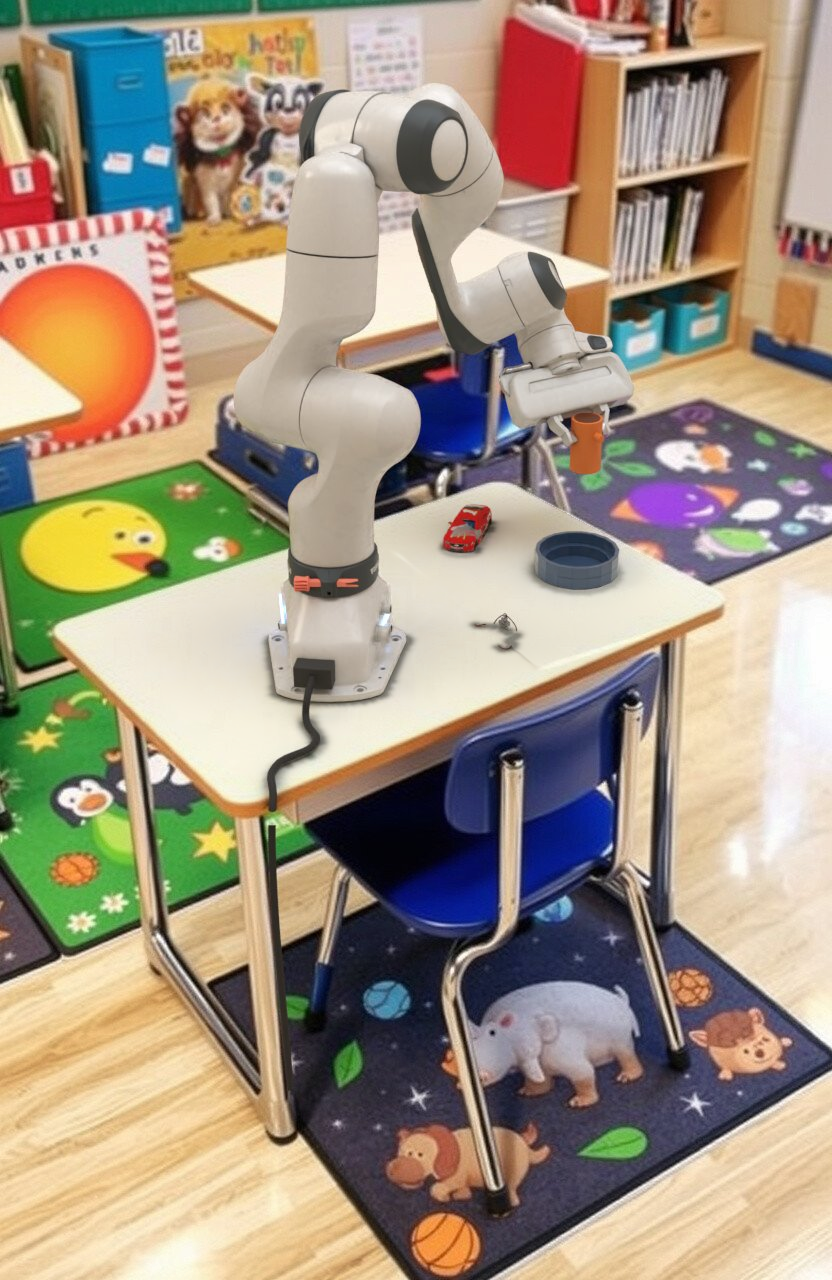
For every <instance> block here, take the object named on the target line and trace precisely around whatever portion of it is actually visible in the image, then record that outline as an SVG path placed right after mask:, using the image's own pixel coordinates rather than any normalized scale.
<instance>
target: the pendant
mask: <svg viewBox="0 0 832 1280" xmlns="http://www.w3.org/2000/svg"><path fill="white" fill-rule="evenodd" d="M509 620H510V621H509ZM497 621H498V624H499V625H500V626H501V627H503V628H505V629H506V630H508V631H510V630H511V628H509V627H510V626H511V622H512V624H513V626H514V628H515V632H518V627H517V625H516V623H515V622H514V621H513V619H511V617H510V616H508V614H507V613H506V612H504V613H503V614H500V615H499V616H498V617H497V618H496V619H495V620H494V622H493V625H495V624H496V622H497ZM474 626H475V627H481V626H487V624H486V623H481V624H476V623H474ZM497 645H498V648H500V649H502V650H510V649H511V648H512V647H513V646H512V645H510V646H509V647H505V648H504V647H502V646H501V645H500V644H497Z"/></svg>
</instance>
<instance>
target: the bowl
mask: <svg viewBox="0 0 832 1280" xmlns="http://www.w3.org/2000/svg"><path fill="white" fill-rule="evenodd" d="M619 563H620V548H619V546H618V545H617V543H616V542H615V541H613V539H610V538H609V537H607V536H605V535H602V534H599V533H596V532H590V531H584V530H566V531H565V530H564V531H560V532H554V533H551V534H549V535H546V536H544V537H542V538H541V539H540V540H539V541H538V542H537V543H536V545H535V549H534V571H535V573H536V576H537V577H538V578H539V579H541V580H542V581H543V582H544V583H547V584H549V585H552V586H554V587H557V588H563V589H569V590H589V589H594V588H600V587H603V586H605V585H608V584H610V583H612V582H613V581H614V580H615V579H616V578H617V577H618V575H619V574H618V572H619Z"/></svg>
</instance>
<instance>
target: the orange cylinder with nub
mask: <svg viewBox="0 0 832 1280" xmlns="http://www.w3.org/2000/svg"><path fill="white" fill-rule="evenodd" d="M570 420H571V421H570V431H573V430H574V432H575V434H576V437H577V438H578V442H577V443H576V444H575V445H573V446H569V470H570V471H571V472H573V473H575V474H578V475H593V474H596V473H598V472H600V471H601V468H602V466H601V465H602V464H601V463H602V446H603V442H604V441H605V438H606V437H605V438H604V436H603V435H602V430H603V417H602V416H601V415H599V414H596V413H593V412H583V413H577V414H575V415H573V416H572V417H570Z"/></svg>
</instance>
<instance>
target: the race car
mask: <svg viewBox="0 0 832 1280" xmlns="http://www.w3.org/2000/svg"><path fill="white" fill-rule="evenodd" d="M447 523H448V525H450V526H449V527H448V529H447V531H446V533H444V535H443V539H442V545H443V548H444V549H446V550H447V551H449V552H452V553H453V552H455V553H471V552H473V551H476V548H477V547H478V546H479V545H480V544H481V542H482V541H483V539H484V537H485V535H486V534H487V532H488V531H489V528H490V527H491V526H492V524H493V515H492V510H491V508H490V507H489V506H488V505H484V504H476V503H469V504H466V505H464V506H463V507H462V508H461V509H460V510H459V512H458V514H457V515H456V516H455V517H454V519H453V520H452V521H448V522H447Z"/></svg>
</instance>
